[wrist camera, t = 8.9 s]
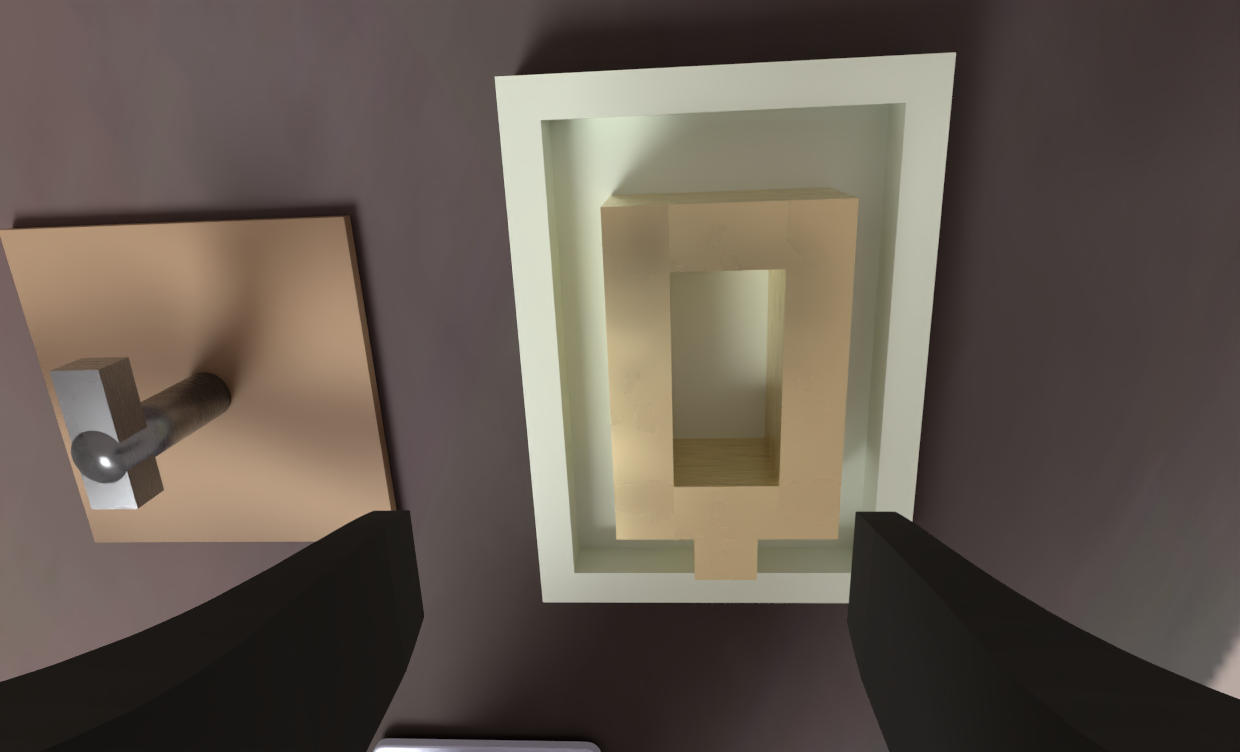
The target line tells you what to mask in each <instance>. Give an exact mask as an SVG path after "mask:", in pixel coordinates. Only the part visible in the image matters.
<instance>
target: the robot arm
mask: <svg viewBox="0 0 1240 752" xmlns="http://www.w3.org/2000/svg"><path fill="white" fill-rule="evenodd" d="M423 618H424V611H423V604H422V597H421V589H420V582H419V575H418V568H417V561H416V553H415V546H414V539H413V532H412V524H411V517H410V511H372V512H369V513H367V514H365V515H363V516H361V517H359V518H357V519H355V520H353V521H351V522H349V523H347V524H346V525H344V526H342V527H340V528H338V529H337V530H335V531H333V532H332V533H330V534H328V535H326V536H325V537H323V538H321V539H320V540H318V541H316V542H314V543H313V544H311V545H309V546H308V547H306V548H304V549H302V550H301V551H299V552H297V553H295V554H294V555H292V556H290V557H289V558H287V559H285V560H283V561H282V562H280V563H278V564H277V565H275V566H273V567H271V568H269V569H268V570H266V571H264V572H262V573H260V574H258V575H256V576H254V577H253V578H251V579H249V580H247V581H245V582H243V583H241V584H240V585H238V586H236V587H234V588H232V589H230V590H228V591H227V592H225V593H223V594H221V595H219V596H217V597H215V598H213V599H211V600H209V601H207V602H205V603H203V604H201V605H199V606H197V607H195V608H193V609H191V610H189V611H187V612H184V613H182V614H180V615H178V616H176V617H173V618H171V619H169V620H167V621H164V622H162V623H160V624H158V625H155V626H153V627H151V628H149V629H146V630H144V631H142V632H139V633H137V634H134V635H132V636H130V637H127V638H124V639H122V640H119V641H116V642H114V643H111V644H108V645H106V646H103V647H100V648H98V649H95V650H92V651H90V652H87V653H84V654H81V655H79V656H76V657H73V658H71V659H68V660H65V661H63V662H60V663H57V664H55V665H52V666H49V667H46V668H43V669H40V670H37V671H34V672H30V673H27V674H24V675H21V676H18V677H15V678H12V679H9V680H5V681H2V682H0V752H366V751H367V749H368V747H369V745H370V743H371V741H372V739H373V737H374V735H375V733H376V731H377V729H378V727H379V725H380V723H381V721H382V719H383V717H384V715H385V713H386V711H387V709H388V707H389V705H390V703H391V701H392V699H393V697H394V695H395V693H396V691H397V689H398V687H399V685H400V683H401V680H402V678H403V676H404V674H405V672H406V670H407V667H408V664H409V661H410V658H411V655H412V652H413V650H414V647H415V644H416V641H417V637H418V634H419V631H420V628H421V625H422V622H423ZM847 622H848V627H849V631H850V635H851V640H852V644H853V648H854V652H855V656H856V660H857V664H858V668H859V672H860V676H861V679H862V682H863V685H864V687H865V690H866V693H867V695H868V698H869V700H870V703H871V706H872V708H873V711H874V713H875V716H876V718H877V721H878V724H879V726H880V729H881V731H882V734H883V736H884V739H885V741H886V744H887V746H888V749H889V751H890V752H1240V699H1237V698H1234V697H1232V696H1229V695H1227V694H1224V693H1221V692H1219V691H1216V690H1214V689H1211V688H1209V687H1206V686H1204V685H1201V684H1199V683H1197V682H1194V681H1192V680H1190V679H1187V678H1185V677H1182V676H1180V675H1178V674H1175V673H1173V672H1171V671H1168V670H1166V669H1164V668H1161V667H1159V666H1156V665H1154V664H1152V663H1150V662H1147V661H1145V660H1143V659H1141V658H1139V657H1137V656H1134V655H1132V654H1130V653H1128V652H1126V651H1124V650H1121V649H1119V648H1117V647H1116V646H1114V645H1112V644H1110V643H1108V642H1106V641H1104V640H1102V639H1100V638H1098V637H1096V636H1094V635H1092V634H1090V633H1088V632H1086V631H1084V630H1082V629H1080V628H1078V627H1076V626H1074V625H1072V624H1070V623H1069V622H1067V621H1065V620H1063V619H1061V618H1060V617H1058V616H1056V615H1054V614H1052V613H1051V612H1049V611H1047V610H1046V609H1044V608H1042V607H1040V606H1039V605H1037V604H1035V603H1034V602H1032V601H1030V600H1029V599H1027V598H1025V597H1024V596H1022V595H1020V594H1019V593H1017V592H1015V591H1014V590H1012V589H1011V588H1009V587H1007V586H1006V585H1004V584H1003V583H1001V582H1000V581H998V580H996V579H995V578H993V577H992V576H990V575H989V574H987V573H986V572H984V571H983V570H981V569H980V568H978V567H977V566H975V565H974V564H972V563H971V562H969V561H968V560H966V559H965V558H964V557H962V556H961V555H959V554H958V553H956V552H955V551H953V550H952V549H951V548H949V547H948V546H946V545H945V544H943V543H942V542H941V541H939V540H938V539H936V538H935V537H933V536H932V535H931V534H929V533H928V532H926V531H925V530H923V529H922V528H920V527H919V526H918V525H916V524H915V523H913V522H912V521H910V520H909V519H907V518H905V517H904V516H902V515H901V514H899V513H897V512H857V511H856V514H855V527H854V540H853V553H852V566H851V579H850V592H849V605H848V619H847ZM374 752H601V751H600V749H599V748H598V746H597V745H595V744H593V743H591V742H575V741H516V740H458V739H399V738H387V739H382V740H381V741H379V742H378V744H377V745H376V747H375V750H374Z"/></svg>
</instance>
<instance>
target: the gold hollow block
mask: <svg viewBox="0 0 1240 752" xmlns="http://www.w3.org/2000/svg"><path fill="white" fill-rule="evenodd" d="M858 202H859V198H857V197H855V196H852V195H849V194H847V193H844V192H842V191H839V190H836V189H834V188H831V187H822V188H795V189H767V190H740V191H712V192H684V193H657V194H629V195H611V196H610V197H609V198H608V199H607V200H606V201H605V202H604V204H603V205H602V206H601V207H600V210H601V231H602V251H603V272H604V293H605V313H606V334H607V355H608V375H609V396H610V417H611V437H612V458H613V479H614V499H615V520H616V540H693V555H694V574H695V580H757V547H758V539H838V530H839V513H840V497H841V480H842V464H843V448H844V431H845V415H846V399H847V382H848V366H849V350H850V333H851V317H852V300H853V284H854V268H855V251H856V235H857V219H858ZM739 270H769V276H768V318H767V360H766V402H765V438H693V439H673V392H672V340H671V288H670V272H703V271H739Z"/></svg>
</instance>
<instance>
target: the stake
mask: <svg viewBox="0 0 1240 752" xmlns="http://www.w3.org/2000/svg"><path fill="white" fill-rule="evenodd" d="M49 372H50V375H51V378H52V381H53V385H54V388H55V391H56V395H57V398H58V401H59V404H60V408H61V411H62V414H63V417H64V421H65V424H66V427H67V430H68V434H69V437H70V440H71V443H72V445H71V456H72V459H73V462H74V464H75V465H76V467H77V468H78V469H79V471H80V473H81V476H82V479H83V482H84V486H85V489H86V492H87V496H88V499H89V502H90V505H91V509H138V508H140V507H141V506H143V505H144V504H145V503H147V502H148V501H150V500H151V499H152V498H154V497H155V496H157V495H158V494H159V493H161V492H162V491H164V487H163V484H162V480H161V476H160V472H159V469H158V465H157V461H156V458H155V457H156V456H158V455H159V454H161V453H163V452H164V451H166V450H167V449H169V448H170V447H172V446H173V445H175V444H177V443H178V442H180V441H181V440H183V439H184V438H186V437H187V436H189V435H191V434H192V433H194V432H195V431H197V430H198V429H200V428H202V427H203V426H205V425H206V424H208V423H209V422H211V421H212V420H214V419H216V418H217V417H219V416H220V415H222V414H223V413H225V412H226V411H227V410H228V408H229V407H230V404H231V393H230V390H229V388H228V386H227V385H226V383H225V382H224V381H223V380H222V379H221V378H220V377H218V376H216V375H214V374H212V373H208V372H199V373H196V374H193V375H192V376H190V377H188V378H186V379H184V380H182V381H180V382H178V383H176V384H174V385H172V386H170V387H168V388H167V389H165V390H163V391H161V392H159V393H157V394H155V395H153V396H151V397H149V398H147V399H145V400H143V401H142V402H140V398H139V394H138V391H137V387H136V383H135V379H134V376H133V372H132V368H131V365H130V361H129V357H109V358H81V359H79V360H76V361H74V362H71V363H68V364H66V365H63V366H61V367H58V368H56V369H53V370H51V371H49Z"/></svg>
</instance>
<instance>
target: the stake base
mask: <svg viewBox="0 0 1240 752" xmlns="http://www.w3.org/2000/svg"><path fill="white" fill-rule="evenodd" d="M0 237H1V240H2V244H3V247H4V250H5V253H6V256H7V260H8V263H9V266H10V269H11V273H12V276H13V279H14V282H15V285H16V289H17V292H18V295H19V298H20V302H21V305H22V308H23V311H24V314H25V318H26V321H27V324H28V327H29V331H30V334H31V337H32V340H33V343H34V347H35V350H36V353H37V356H38V360H39V363H40V366H41V369H42V372H43V376H44V379H45V382H46V385H47V389H48V392H49V395H50V398H51V401H52V405H53V408H54V411H55V414H56V418H57V421H58V424H59V427H60V430H61V434H62V437H63V440H64V443H65V447H66V450H67V453H68V456H69V459H70V463H71V466H72V469H73V472H74V476H75V479H76V482H77V485H78V489H79V492H80V495H81V498H82V501H83V505H84V508H85V511H86V514H87V518H88V521H89V524H90V527H91V530H92V534H93V537H94V540H95V542H306V541H318V540H320V539H321V538H323V537H325V536H326V535H328V534H330V533H332V532H333V531H335V530H337V529H338V528H340V527H342V526H344V525H346V524H347V523H349V522H351V521H353V520H355V519H357V518H359V517H361V516H363V515H365V514H367V513H369V512H372V511H397V510H396V503H395V497H394V491H393V484H392V478H391V472H390V465H389V459H388V453H387V447H386V440H385V434H384V428H383V421H382V415H381V409H380V402H379V396H378V390H377V383H376V377H375V371H374V365H373V358H372V352H371V346H370V339H369V333H368V327H367V320H366V314H365V308H364V302H363V295H362V289H361V283H360V276H359V270H358V264H357V257H356V251H355V245H354V238H353V232H352V226H351V220H350V215H343V216H318V217H292V218H266V219H240V220H214V221H189V222H163V223H137V224H111V225H86V226H60V227H34V228H10V229H4V230H0ZM109 357H129V361H130V365H131V368H132V372H133V376H134V379H135V383H136V387H137V391H138V394H139V398H140V402H142V401H143V400H145V399H147V398H149V397H151V396H153V395H155V394H157V393H159V392H161V391H163V390H165V389H167V388H168V387H170V386H172V385H174V384H176V383H178V382H180V381H182V380H184V379H186V378H188V377H190V376H192V375H193V374H196V373H199V372H208V373H212V374H214V375H216V376H218V377H220V378H221V379H222V380H223V381H224V382H225V383H226V385H227V386H228V388H229V390H230V393H231V404H230V407H229V408H228V410H227V411H226V412H225V413H223V414H222V415H220V416H219V417H217V418H216V419H214V420H212V421H211V422H209V423H208V424H206V425H205V426H203V427H202V428H200V429H198V430H197V431H195V432H194V433H192V434H191V435H189V436H187V437H186V438H184V439H183V440H181V441H180V442H178V443H177V444H175V445H173V446H172V447H170V448H169V449H167V450H166V451H164V452H163V453H161V454H159V455H158V456H156V457H155V458H156V461H157V465H158V469H159V472H160V476H161V480H162V484H163V487H164V491H162V492H161V493H159V494H158V495H157V496H155V497H154V498H152V499H151V500H150V501H148V502H147V503H145V504H144V505H143V506H141V507H140V508H138V509H91V505H90V502H89V499H88V496H87V492H86V489H85V486H84V482H83V479H82V476H81V473H80V471H79V469H78V468H77V467H76V465H75V464H74V462H73V459H72V456H71V445H72V443H71V440H70V437H69V434H68V430H67V427H66V424H65V421H64V417H63V414H62V411H61V408H60V404H59V401H58V398H57V395H56V391H55V388H54V385H53V381H52V378H51V375H50V372H49V371H51V370H53V369H56V368H58V367H61V366H63V365H66V364H68V363H71V362H74V361H76V360H79V359H81V358H109Z"/></svg>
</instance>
